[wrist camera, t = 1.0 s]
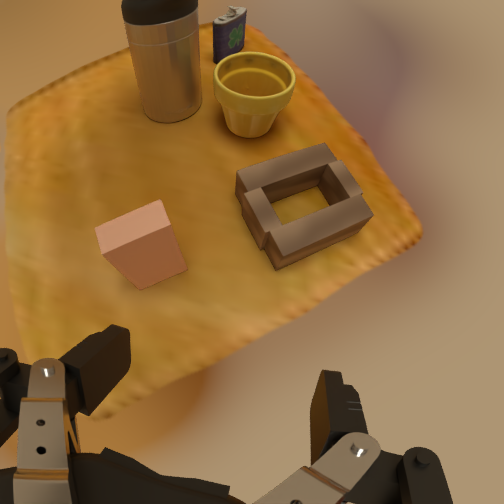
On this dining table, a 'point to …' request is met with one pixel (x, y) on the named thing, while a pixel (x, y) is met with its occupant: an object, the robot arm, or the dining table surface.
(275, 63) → the plant pot
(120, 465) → the robot arm
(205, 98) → the dining table surface
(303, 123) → the dining table surface
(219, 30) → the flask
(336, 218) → the walnut frame
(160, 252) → the tall pink pillar
